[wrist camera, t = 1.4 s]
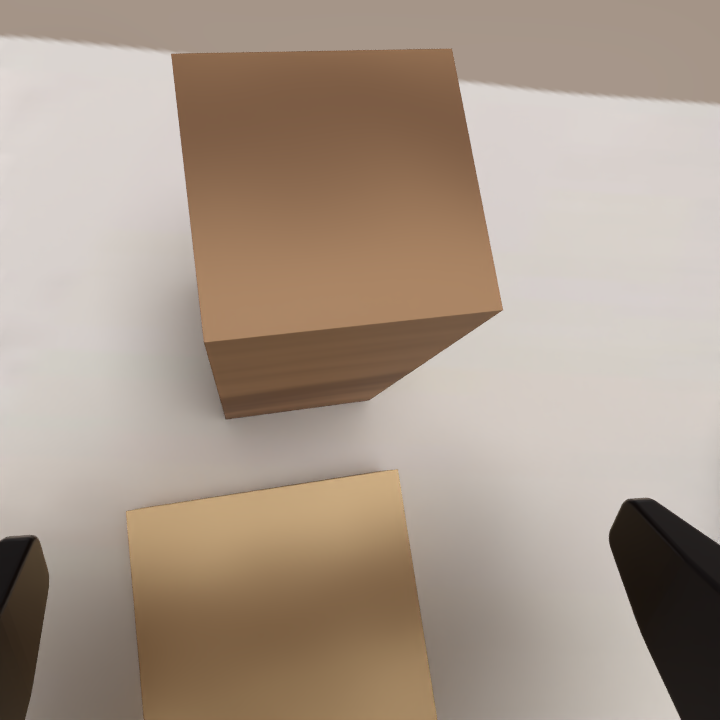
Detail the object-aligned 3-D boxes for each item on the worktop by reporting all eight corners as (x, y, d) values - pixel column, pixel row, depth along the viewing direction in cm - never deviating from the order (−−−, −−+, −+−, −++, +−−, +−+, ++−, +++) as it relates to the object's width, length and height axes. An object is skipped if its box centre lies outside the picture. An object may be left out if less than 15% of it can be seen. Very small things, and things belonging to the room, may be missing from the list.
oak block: (414, 712, 21) (441, 748, 18) (166, 771, 19) (152, 821, 17) (378, 471, 22) (397, 469, 19) (142, 508, 21) (126, 511, 18)
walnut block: (369, 400, 22) (503, 310, 11) (225, 419, 21) (203, 342, 10) (348, 266, 23) (451, 48, 12) (209, 278, 22) (171, 53, 11)
